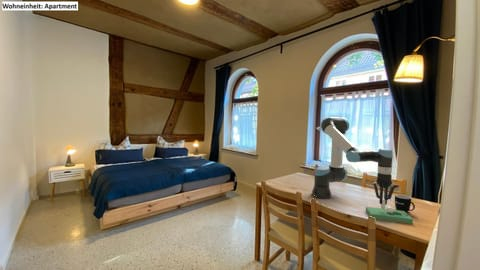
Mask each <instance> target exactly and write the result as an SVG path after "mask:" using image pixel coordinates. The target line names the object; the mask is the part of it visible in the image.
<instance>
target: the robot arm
mask: <svg viewBox="0 0 480 270" xmlns="http://www.w3.org/2000/svg"><path fill="white" fill-rule="evenodd" d="M320 129H321V131H322V132H323V134H324V135H326V136H329V138H330V139H331V154H330V157H331V159H330V164H329V165H328V166H318V167H316V168H315V169H314V173H313V175H314V178H313V179H314V180H313V181H314V185H313V187H312V191H311V195H312V194H313V195H315V196H317V197H320V198H319V199H323V198H327V199H331V198H332V191H331V189H330V184H332V183H341V182H344V181H345V180H346V179H347V177H348V172H347V170H346V168H345V166H344V165H343V152H344V154H345V158H346V160H347V161H348V162H349V163H363V162H372V163H373V162H374V163H377V174H376V175H377V176H376V177H377V178H376V181H375V182H371V184H372V186H373V189H374V193H375V197H376V198H377V199H379V202H378V203H379V204H380V208H381V209H382V210H385V209H386V205H387V204H388V201H389V200H392V196H393V193H394V191H395V188H396V187H397V185H396V184H394V183H393V181H392V178H393V177H392V175H393V174H392V173H393V158H394V155H393V153H394V152H393V150H392V149H390V148H379V149H378V150H372V149H363V150H362V149H361V150H359V149H358V148H357V147H356V146H355V145H354V144H353V143H352V142H351V141H350V140H349V139H347V137H345V135H346V133H347V131H348V130H349V129H350V122H349V120H348V119H347V118H346V117H341V116H337V117H335V116H334V117H333V116H328V117H325V118H324V119H322V121H321V123H320ZM378 186H379V190H378ZM389 187H390V188H389ZM313 195H312V196H313ZM317 197H316V198H317Z"/></svg>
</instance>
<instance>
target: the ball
mask: <svg viewBox="0 0 480 270" xmlns="http://www.w3.org/2000/svg"><path fill="white" fill-rule="evenodd" d="M385 209H386V211H387V212H388V213H393V211H394V210H395V209H394V207H392V206H387V207H385Z"/></svg>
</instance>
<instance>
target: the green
mask: <svg viewBox="0 0 480 270" xmlns="http://www.w3.org/2000/svg"><path fill="white" fill-rule="evenodd" d="M393 210H394V211H393V213H388V212H387V211H386V208H385V210H382V209H381V207H380V208H379V207H370V206H365V212H366V214H367V216H368V217H369V216H372V217H375V218H376V219H375V220H378V221H386V222H387V221H388V222H394V223H402V224H409V225H411V224H413V223H414V222H413V221H414V220H413V218H412V217H411V215H409V214H408V212H407V213H406V212H405V211H399V210H396V209H393Z"/></svg>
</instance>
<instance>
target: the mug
mask: <svg viewBox="0 0 480 270" xmlns="http://www.w3.org/2000/svg"><path fill="white" fill-rule="evenodd" d="M411 205H412V209H411ZM394 207H395V210H399V211H405V212H406V213H407V214H408V213H409V211H410V212H413V211H414V210H415V209H416V205H415V204H414V202H412V196H409V195H406V194H400V193H399V194H398V193H397V194H394Z"/></svg>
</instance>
